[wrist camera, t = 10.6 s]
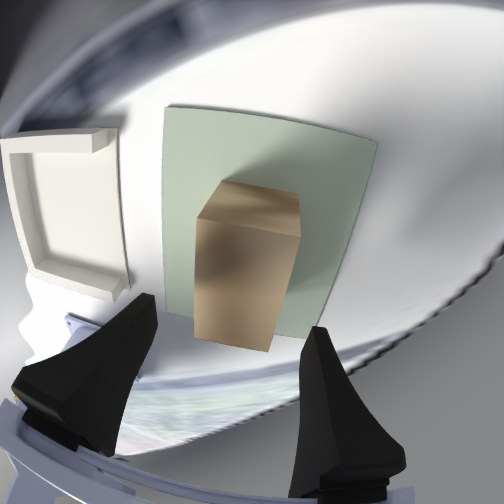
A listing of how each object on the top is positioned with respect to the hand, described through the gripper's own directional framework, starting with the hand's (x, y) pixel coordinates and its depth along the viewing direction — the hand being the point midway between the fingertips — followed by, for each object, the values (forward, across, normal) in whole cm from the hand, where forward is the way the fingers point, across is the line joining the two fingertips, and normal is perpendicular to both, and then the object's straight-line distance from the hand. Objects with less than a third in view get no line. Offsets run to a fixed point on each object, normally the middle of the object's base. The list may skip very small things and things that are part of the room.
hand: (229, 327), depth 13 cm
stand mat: (+7, 0, 0) cm, 7 cm away
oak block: (+7, 0, 0) cm, 7 cm away
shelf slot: (+7, +14, 0) cm, 16 cm away
